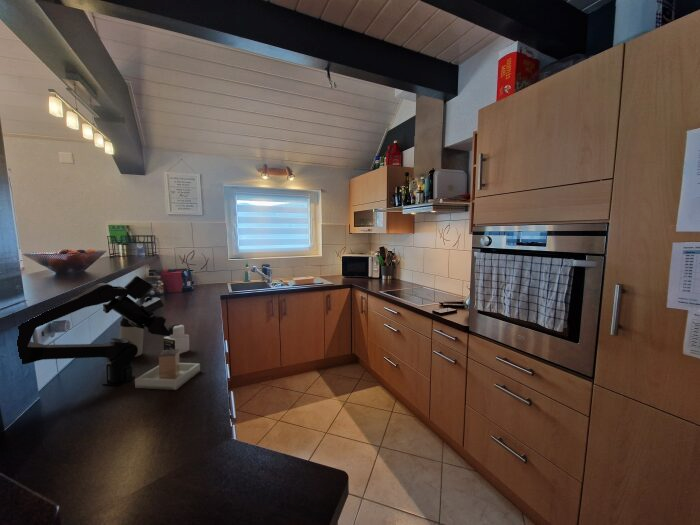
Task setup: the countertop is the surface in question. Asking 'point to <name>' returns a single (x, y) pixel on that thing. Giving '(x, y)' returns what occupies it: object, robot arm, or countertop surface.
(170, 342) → the medicine bottle
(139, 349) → the travel mug
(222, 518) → the countertop surface
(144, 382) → the tray
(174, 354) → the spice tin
